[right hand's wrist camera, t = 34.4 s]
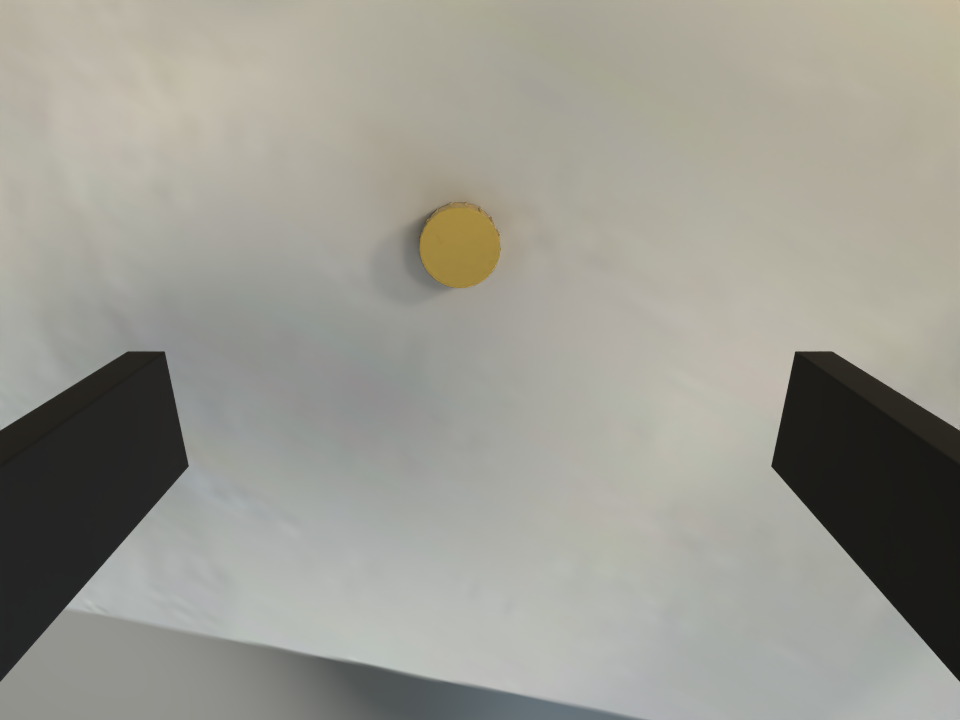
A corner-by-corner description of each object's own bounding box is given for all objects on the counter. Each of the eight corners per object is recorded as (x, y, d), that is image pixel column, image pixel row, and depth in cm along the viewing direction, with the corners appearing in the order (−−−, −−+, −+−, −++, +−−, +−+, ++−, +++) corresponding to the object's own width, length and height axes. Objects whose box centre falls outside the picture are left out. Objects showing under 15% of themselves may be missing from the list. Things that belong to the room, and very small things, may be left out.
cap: (514, 242, 30) (518, 249, 28) (459, 295, 31) (459, 305, 29) (460, 184, 29) (461, 188, 27) (404, 240, 30) (401, 248, 28)
